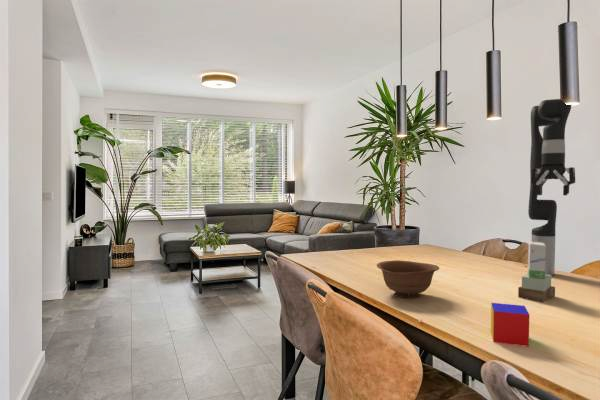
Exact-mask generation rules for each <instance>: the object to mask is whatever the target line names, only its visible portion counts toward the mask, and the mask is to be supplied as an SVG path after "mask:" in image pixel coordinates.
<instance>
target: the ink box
mask: <svg viewBox="0 0 600 400" xmlns="http://www.w3.org/2000/svg"><path fill="white" fill-rule="evenodd" d="M545 254H546V246H545V244H544V243H540V242H532V241H528V255H527V274H528V275H529V277H530V278H542V279H545Z"/></svg>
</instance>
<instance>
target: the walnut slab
mask: <svg viewBox="0 0 600 400" xmlns="http://www.w3.org/2000/svg"><path fill="white" fill-rule="evenodd" d="M517 289H518V290H517V292H518V293H517V294H518V295H517V297H518V298H520V299H525V300H531V301H535V302H540V303H544V302H547V301H548V300H552V299H553V298H555V297H556V286H552V285H551V287H549V288H548V289H547V290H546V291H538V290H531V289H525V288H522V285H521V286H518V288H517Z"/></svg>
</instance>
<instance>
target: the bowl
mask: <svg viewBox="0 0 600 400" xmlns="http://www.w3.org/2000/svg"><path fill="white" fill-rule="evenodd" d="M376 267H377V268H378V269H380V270H381V272H382V277H383V282H384V283H385V285H386V287H387V288H388V289H389V290H391V291H393V292H394V296H395V297H398V298H401V299H417V298H419V297H420V296H421V295H420V294H421V293H424V292H425V291H427V290H428V289H429V288H430V285H431V284H432V281H433V276H434V274H435V272H436V271H438V270H439V269H440V267H439V266H438V265H437V264H433V263H426V262H425V263H424V262H417V261H412V260H411V261H410V260H397V259H396V260H385V261H380V262H377V263H376Z"/></svg>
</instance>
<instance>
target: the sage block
mask: <svg viewBox="0 0 600 400" xmlns="http://www.w3.org/2000/svg"><path fill="white" fill-rule="evenodd" d="M521 286H522V288H525V289H531V290H538V291H546V290H547V289H548V288H549V287H551V286H552V275H546V274H545V279H542V278H530V277H529V275H528V273H525V274H524V275H522V276H521Z"/></svg>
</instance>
